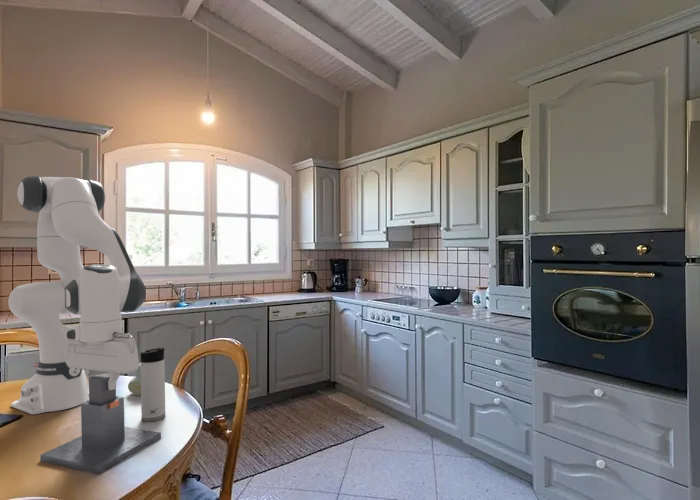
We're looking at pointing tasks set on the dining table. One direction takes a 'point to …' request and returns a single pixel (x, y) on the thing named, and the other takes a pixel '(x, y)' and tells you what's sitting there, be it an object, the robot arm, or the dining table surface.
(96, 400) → the post
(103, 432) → the stand
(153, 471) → the dining table surface
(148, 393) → the travel mug
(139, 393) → the air freshener
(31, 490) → the dining table surface
